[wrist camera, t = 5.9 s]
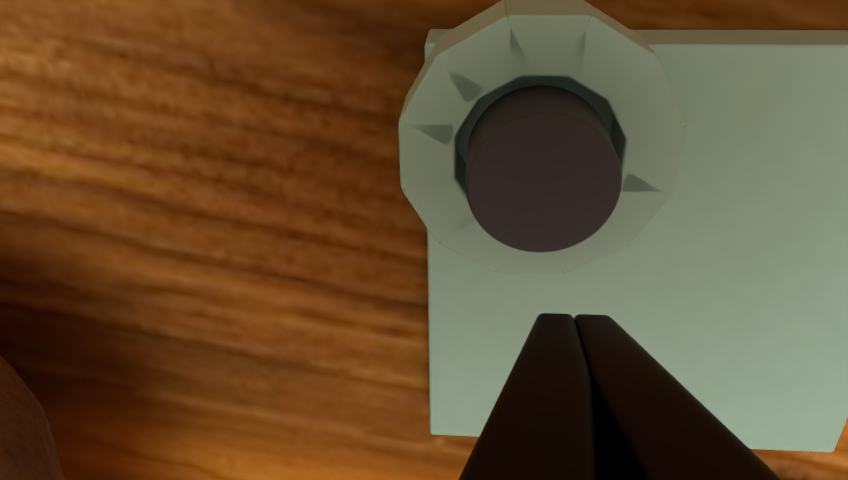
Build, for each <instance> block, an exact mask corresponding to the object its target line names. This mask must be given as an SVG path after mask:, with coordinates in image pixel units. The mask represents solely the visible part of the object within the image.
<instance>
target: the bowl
mask: <svg viewBox="0 0 848 480" xmlns="http://www.w3.org/2000/svg"><path fill="white" fill-rule="evenodd" d="M0 480H65V479H64V475H63V471H62V468H61V464H60V460H59V456H58V452H57V449H56V445H55V441H54V438H53V435H52V431H51V428H50V425H49V422H48V419H47V416H46V413H45V410H44V408H43V405H42V404H41V403H40V402H39V401H38V399H37V398H36V397H35V396H34V395H33V393H32V392H31V390H30V389H29V388H28V386H27V385H26V384H25V383H24V381H23V380H22V379H21V377H20V376H19V375H18V373H17V372H16V371H15V370H14V368H13V367H12V366H11V365H10V364H8V363H7V362H6V361H5V360H4V359H3V358H2V357H1V356H0Z"/></svg>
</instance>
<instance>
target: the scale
mask: <svg viewBox="0 0 848 480" xmlns="http://www.w3.org/2000/svg"><path fill="white" fill-rule="evenodd" d="M539 85H545V86H554V87H559V88H563V89H566V90H569V91H571V92H573V93H575V94H577V95H579V96H581V97H582V98H583V99H585V100H586V101H587V102H588V103H590V104H591V105H592V106H593V107H594V109H595V110H596V111H597V112H598V114H599V115H600V117H601V119H602V120H603V123H604V125H605V127H606V130H607V132H608V134H609V137H610V139H611V141H612V144H613V146H614V148H615V150H616V153H617V155H618V158H619V161H620V165H621V169H622V188H621V192H620V197H619V200H618V202H617V205H616V207H615V209H614V211H613V213H612V214H611V216H610V217H609V219H608V220H607V221H606V223H605V224H604V225H603V226H602V227H601V228H600V229H599V230H598V231H597V232H595V233H594V234H593V235H592V236H590V237H589V238H587V239H586V240H584V241H583V242H581V243H579V244H577V245H574V246H572V247H569V248H566V249H563V250H559V251H553V252H539V253H537V252H527V251H522V250H518V249H515V248H511V247H509V246H507V245H505V244H502V243H501V242H499V241H497V240H496V239H494V238H493V237H492V236H490V235H489V234H488V233H487V232H486V231H485V230H484V229H483V228H482V227H481V226H480V225H479V223H478V222H477V221H476V219H475V218H474V216H473V214H472V212H471V210H470V207H469V204H468V200H467V195H466V168H467V150H468V142H469V138H470V134H471V132H472V129H473V127H474V125H475V123H476V121H477V120H478V118H479V117H480V115H481V114H482V113H483V112H484V111H485V110H486V108H487V107H488V106H489V105H491V104H492V103H493V102H494V101H496V100H497V99H499V98H500V97H502V96H503V95H505V94H507V93H509V92H512V91H514V90H517V89H520V88H524V87H529V86H539ZM398 131H399V158H400V186H401V189H402V190H403V193H404V194H405V196H406V197H407V199H408V200H409V202H410V203H411V205H412V206H413V208H414V209H415V211H416V212H417V214H418V215H419V217H420V218H421V220H422V221H423V223H424V224H425V226H426V227H427V254H428V324H429V394H430V432H431V434H433V435H455V436H477V437H479V436H480V434H481V432H482V430H483V428H484V426H485V424H486V422H487V420H488V418H489V416H490V414H491V411H492V409H493V407H494V405H495V403H496V401H497V399H498V397H499V395H500V393H501V391H502V389H503V387H504V385H505V382H506V380H507V378H508V376H509V374H510V372H511V370H512V368H513V366H514V364H515V362H516V360H517V358H518V356H519V353H520V351H521V349H522V347H523V345H524V343H525V341H526V339H527V337H528V335H529V333H530V331H531V329H532V327H533V325H534V322H535V320H536V318H537V317H538V315H539V314H541V313H560V314H570V315H571V316H573V318H575V316H576V315H578V314H594V315H608V316H609V317H611V318H612V319H613V320H614V321H616V322H617V323H618V324H619V325H620V326H621V327H622V328H623V329H624V330H625V331H626V332H627V333H628V334H629V335H630V336H631V337H632V338H633V339H634V340H636V341H637V342H638V343H639V344H640V345H641V346H642V347H643V348H644V349H645V350H646V351H647V352H648V353H649V354H650V355H651V356H652V357H653V358H654V359H656V360H657V361H658V362H659V363H660V364H661V365H662V366H663V367H664V368H665V369H666V370H667V371H668V372H669V373H670V374H671V375H672V376H673V377H674V378H676V379H677V380H678V381H679V382H680V383H681V384H682V385H683V386H684V387H685V388H686V389H687V390H688V391H689V392H690V393H691V394H692V395H693V396H694V397H696V398H697V399H698V400H699V401H700V402H701V403H702V404H703V405H704V406H705V407H706V408H707V409H708V410H709V411H710V412H711V413H712V414H713V415H714V416H716V417H717V418H718V419H719V420H720V421H721V422H722V423H723V424H724V425H725V426H726V427H727V428H728V429H729V430H730V431H731V432H732V433H733V434H734V435H736V436H737V437H738V438H739V439H740V440H741V441H742V442H743V443H744V444H745V445H746V446H747V447H748V448H749V449H766V450H788V451H810V452H833V451H834V449H835V447H836V445H837V442H838V440H839V437H840V435H841V432H842V430H843V428H844V425H845V423H846V420H847V418H848V30H630V29H629V28H627V27H626V26H624V25H622V24H621V23H619V22H618V21H616V20H615V19H613V18H611V17H610V16H608V15H607V14H605V13H603V12H602V11H600V10H599V9H597V8H595V7H594V6H592V5H591V4H589V3H588V2H586V1H584V0H506V1H505V0H502V1H500V2H498V3H496V4H495V5H493V6H491V7H490V8H488V9H486V10H484V11H483V12H481V13H479V14H478V15H476V16H474V17H472V18H471V19H469V20H467V21H466V22H464V23H462V24H460V25H459V26H457V27H455V28H454V29H431V30H429V32H428V36H427V39H426V43H425V63H424V65H423V67H422V69H421V70H420V72H419V74H418V76H417V77H416V79H415V81H414V83H413V84H412V86H411V88H410V90H409V92H408V93H407V95H406V98H405V101H404V105H403V108H402V112H401V115H400V118H399V122H398Z"/></svg>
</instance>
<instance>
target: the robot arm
mask: <svg viewBox="0 0 848 480" xmlns="http://www.w3.org/2000/svg"><path fill="white" fill-rule="evenodd" d="M459 480H782V479H781V478H780V477H779V476H778V475H777V474H776V473H774V472H773V471H772V470H771V469H770V468H769V467H768V466H767V465H766V464H765V463H764V462H763V461H762V460H761V459H760V458H759V457H758V456H757V455H756V454H754V453H753V452H752V451H751V450H750V449H749V448H748V447H747V446H746V445H745V444H744V443H743V442H742V441H741V440H740V439H739V438H738V437H737V436H736V435H734V434H733V433H732V432H731V431H730V430H729V429H728V428H727V427H726V426H725V425H724V424H723V423H722V422H721V421H720V420H719V419H718V418H717V417H716V416H714V415H713V414H712V413H711V412H710V411H709V410H708V409H707V408H706V407H705V406H704V405H703V404H702V403H701V402H700V401H699V400H698V399H697V398H696V397H694V396H693V395H692V394H691V393H690V392H689V391H688V390H687V389H686V388H685V387H684V386H683V385H682V384H681V383H680V382H679V381H678V380H677V379H676V378H674V377H673V376H672V375H671V374H670V373H669V372H668V371H667V370H666V369H665V368H664V367H663V366H662V365H661V364H660V363H659V362H658V361H657V360H656V359H654V358H653V357H652V356H651V355H650V354H649V353H648V352H647V351H646V350H645V349H644V348H643V347H642V346H641V345H640V344H639V343H638V342H637V341H636V340H634V339H633V338H632V337H631V336H630V335H629V334H628V333H627V332H626V331H625V330H624V329H623V328H622V327H621V326H620V325H619V324H618V323H617V322H616V321H614V320H613V319H612V318H611V317H609V316H608V315H594V314H578V315H576V316H575V318H573V316H571V315H570V314H560V313H541V314H539V315H538V317H537V318H536V320H535V322H534V325H533V327H532V329H531V331H530V333H529V335H528V337H527V339H526V341H525V343H524V345H523V347H522V349H521V351H520V353H519V356H518V358H517V360H516V362H515V364H514V366H513V368H512V370H511V372H510V374H509V376H508V378H507V380H506V382H505V385H504V387H503V389H502V391H501V393H500V395H499V397H498V399H497V401H496V403H495V405H494V407H493V409H492V411H491V414H490V416H489V418H488V420H487V422H486V424H485V426H484V428H483V430H482V432H481V434H480V436H479V438H478V440H477V442H476V445H475V447H474V449H473V451H472V453H471V455H470V457H469V459H468V461H467V463H466V465H465V467H464V469H463V471H462V474H461V476H460V478H459Z"/></svg>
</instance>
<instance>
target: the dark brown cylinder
mask: <svg viewBox="0 0 848 480" xmlns="http://www.w3.org/2000/svg"><path fill="white" fill-rule="evenodd" d="M621 188H622V169H621V165H620V161H619V158H618V155H617V153H616V150H615V148H614V146H613V144H612V141H611V139H610V137H609V134H608V132H607V130H606V127H605V125H604V123H603V120H602V119H601V117H600V115H599V114H598V112H597V111H596V110H595V109H594V107H593V106H592V105H591V104H590V103H588V102H587V101H586V100H585V99H583V98H582V97H581V96H579V95H577V94H575V93H573V92H571V91H569V90H566V89H563V88H559V87H554V86H545V85H539V86H529V87H524V88H520V89H517V90H514V91H512V92H509V93H507V94H505V95H503V96H502V97H500V98H499V99H497V100H496V101H494V102H493V103H492V104H491V105H489V106H488V107H487V108H486V110H485V111H484V112H483V113H482V114H481V115H480V117H479V118H478V120H477V121H476V123H475V125H474V127H473V129H472V132H471V134H470V138H469V142H468V150H467V168H466V195H467V200H468V204H469V207H470V210H471V212H472V214H473V216H474V218H475V219H476V221H477V222H478V223H479V225H480V226H481V227H482V228H483V229H484V230H485V231H486V232H487V233H488V234H489V235H490V236H492V237H493V238H494V239H496V240H497V241H499V242H501V243H502V244H505V245H507V246H509V247H511V248H515V249H518V250H522V251H527V252H537V253H539V252H553V251H559V250H563V249H566V248H569V247H572V246H574V245H577V244H579V243H581V242H583V241H584V240H586V239H587V238H589V237H590V236H592V235H593V234H594V233H595V232H597V231H598V230H599V229H600V228H601V227H602V226H603V225H604V224H605V223H606V221H607V220H608V219H609V217H610V216H611V214H612V213H613V211H614V209H615V207H616V205H617V202H618V200H619V197H620V192H621Z"/></svg>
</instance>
